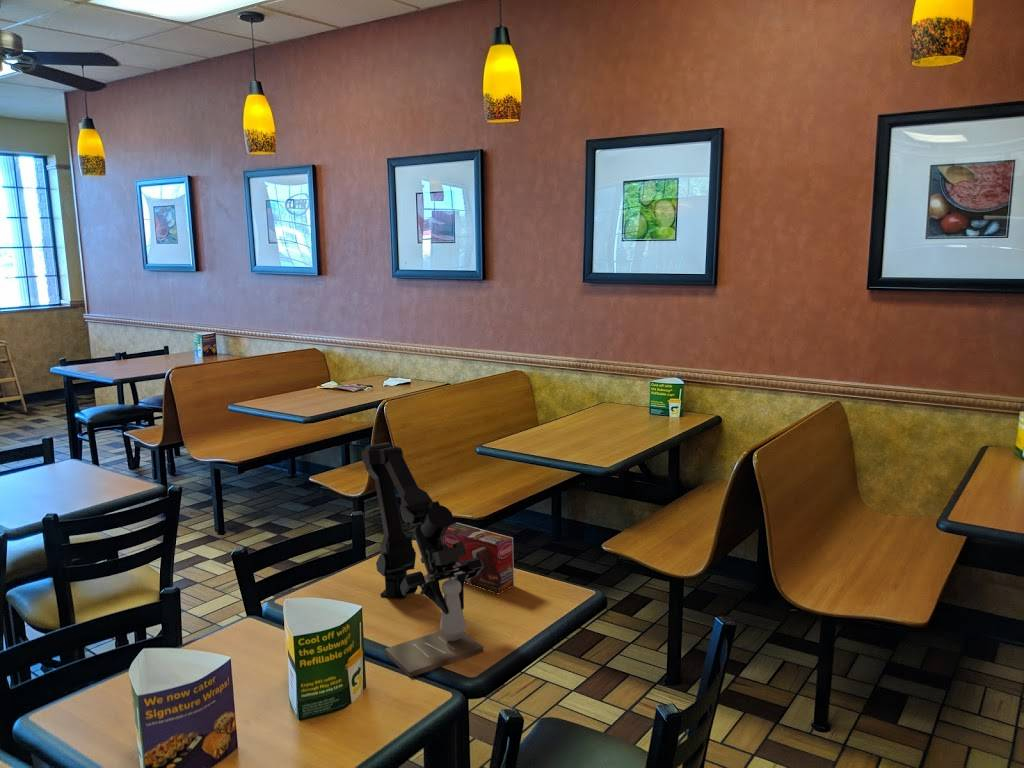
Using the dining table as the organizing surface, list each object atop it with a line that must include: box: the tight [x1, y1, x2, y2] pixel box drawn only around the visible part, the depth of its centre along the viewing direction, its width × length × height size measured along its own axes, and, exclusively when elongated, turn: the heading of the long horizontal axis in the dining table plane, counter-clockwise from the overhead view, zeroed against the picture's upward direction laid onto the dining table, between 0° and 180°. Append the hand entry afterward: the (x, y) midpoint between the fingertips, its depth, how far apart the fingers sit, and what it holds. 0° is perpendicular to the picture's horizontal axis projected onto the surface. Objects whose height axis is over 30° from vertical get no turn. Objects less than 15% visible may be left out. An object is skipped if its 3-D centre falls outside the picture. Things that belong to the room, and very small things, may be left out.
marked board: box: [384, 630, 485, 678], centre depth 171 cm, size 18×12×1 cm, turn 124°
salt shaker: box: [439, 579, 467, 641], centre depth 173 cm, size 6×6×13 cm
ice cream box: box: [442, 522, 515, 594], centre depth 207 cm, size 20×6×13 cm, turn 51°
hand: (454, 611), depth 172 cm, fingers closed on salt shaker, 3 cm apart
